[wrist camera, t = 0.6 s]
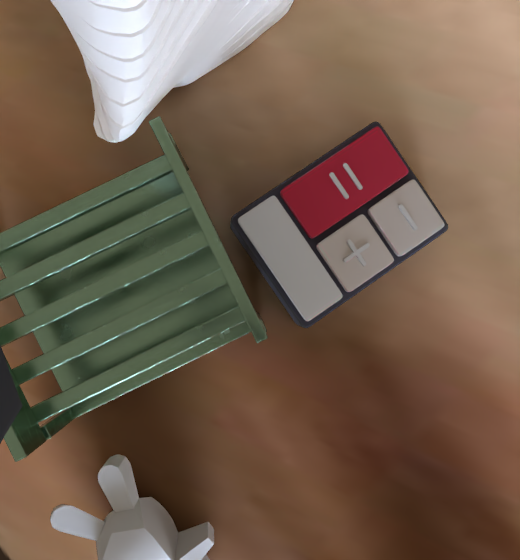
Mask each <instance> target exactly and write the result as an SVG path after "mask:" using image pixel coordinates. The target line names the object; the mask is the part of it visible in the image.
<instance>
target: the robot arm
mask: <svg viewBox="0 0 520 560" xmlns="http://www.w3.org/2000/svg"><path fill="white" fill-rule="evenodd" d="M21 408H22V403H21V400H20V397H19V395H18V392H17V389H16V386H15V384H14V381H13V378H12V376H11V373H10V370H9V367H8V365H7V362H6V359H5V356H4V354H3V351H2V348H1V345H0V443H1V441H2V440H3V438H4V436H5V435H6V433H7V431H8V430H9V428H10V426H11V424H12V423H13V421H14V419H15V418H16V416H17V414H18V413H19V411H20V409H21Z"/></svg>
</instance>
